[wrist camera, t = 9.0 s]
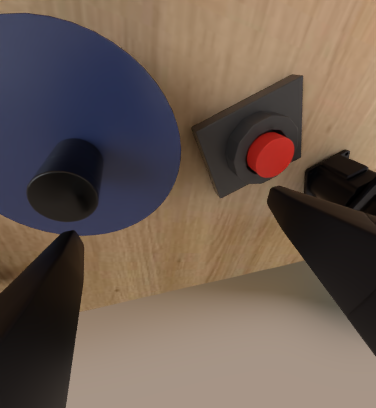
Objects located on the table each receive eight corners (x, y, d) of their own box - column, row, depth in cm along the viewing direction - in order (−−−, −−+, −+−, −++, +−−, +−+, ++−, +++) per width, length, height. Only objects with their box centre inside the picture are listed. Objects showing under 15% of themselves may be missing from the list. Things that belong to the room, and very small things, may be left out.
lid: (200, 181, 16) (227, 221, 12) (71, 247, 16) (56, 308, 12) (104, -43, 8) (89, -144, 4) (-147, 99, 8) (-393, 137, 4)
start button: (283, 159, 20) (294, 166, 19) (249, 176, 20) (258, 184, 19) (281, 123, 18) (294, 129, 16) (243, 143, 18) (253, 150, 16)
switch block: (292, 152, 24) (314, 164, 22) (215, 192, 24) (227, 208, 22) (291, 74, 18) (321, 76, 16) (190, 127, 19) (202, 139, 16)
